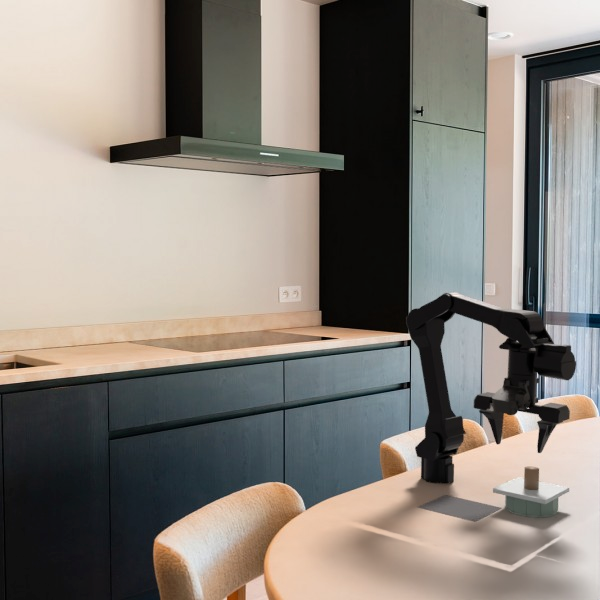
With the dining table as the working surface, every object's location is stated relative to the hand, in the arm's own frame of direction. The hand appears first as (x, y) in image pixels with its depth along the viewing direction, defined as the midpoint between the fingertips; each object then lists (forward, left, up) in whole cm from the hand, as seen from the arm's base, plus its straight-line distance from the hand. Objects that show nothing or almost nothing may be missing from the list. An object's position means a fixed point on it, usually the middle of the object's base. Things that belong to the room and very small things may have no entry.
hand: (518, 448), depth 169 cm
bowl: (+4, -3, -12) cm, 13 cm away
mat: (-7, -12, -12) cm, 18 cm away
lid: (+4, -3, -8) cm, 9 cm away
